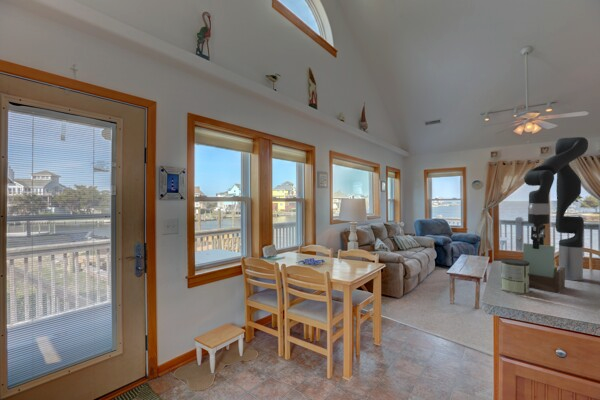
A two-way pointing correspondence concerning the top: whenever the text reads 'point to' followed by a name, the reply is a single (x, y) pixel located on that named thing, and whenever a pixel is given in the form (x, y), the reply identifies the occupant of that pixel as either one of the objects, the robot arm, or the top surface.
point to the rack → (548, 281)
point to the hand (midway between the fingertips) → (538, 247)
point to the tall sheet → (539, 259)
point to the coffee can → (515, 276)
